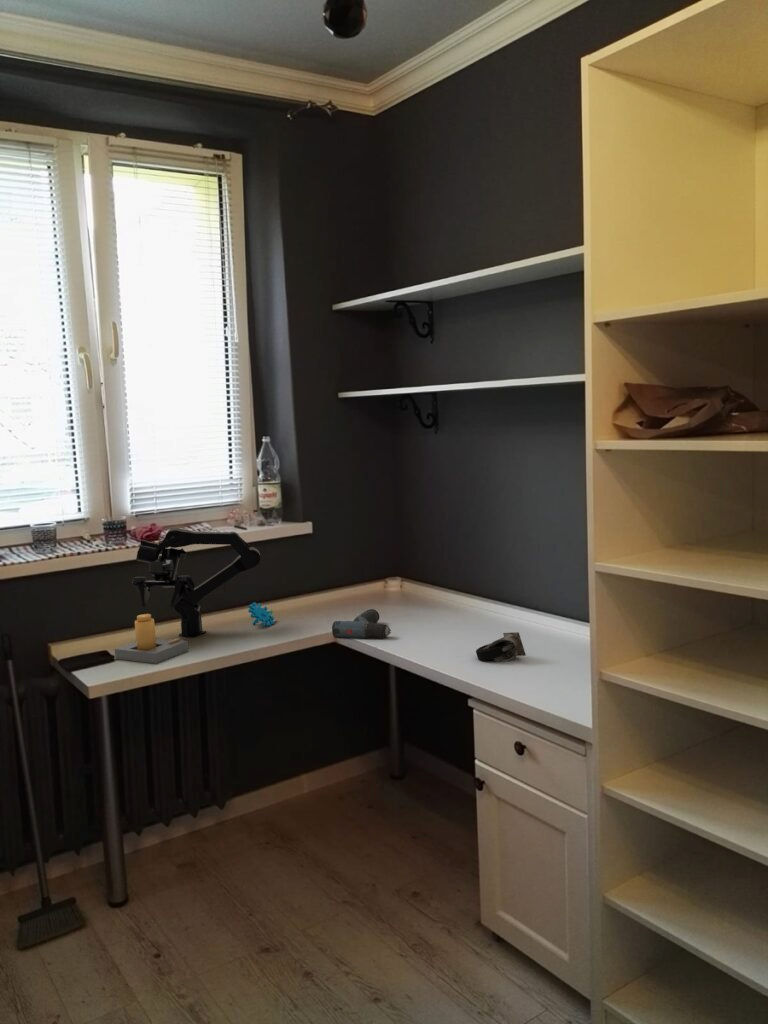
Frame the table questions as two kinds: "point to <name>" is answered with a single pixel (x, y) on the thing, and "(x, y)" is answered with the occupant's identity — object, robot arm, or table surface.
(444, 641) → the table surface
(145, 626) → the yellow cylinder
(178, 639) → the block
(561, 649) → the table surface
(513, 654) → the caster wheel
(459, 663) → the table surface
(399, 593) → the table surface
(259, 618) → the gear
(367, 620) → the power drill
